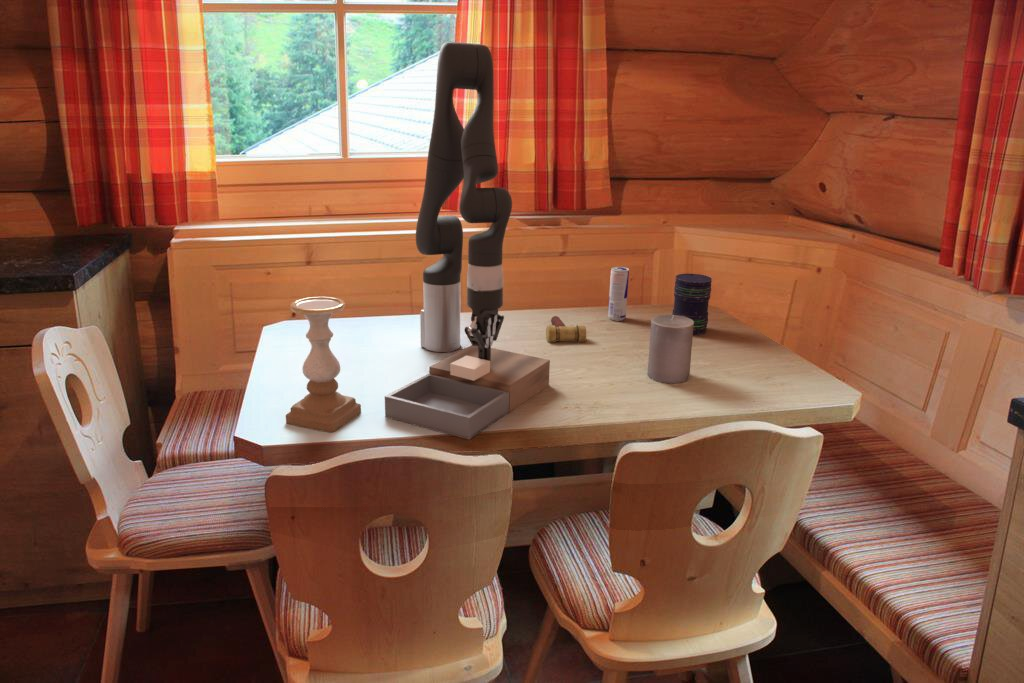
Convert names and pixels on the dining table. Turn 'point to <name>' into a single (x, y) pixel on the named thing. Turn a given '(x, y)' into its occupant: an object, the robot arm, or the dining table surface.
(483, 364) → the tile
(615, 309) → the beverage can
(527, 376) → the brown wooden box
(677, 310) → the storage jar
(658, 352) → the pillar candle
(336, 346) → the dining table surface
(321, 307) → the candle holder
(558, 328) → the gavel
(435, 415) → the box
